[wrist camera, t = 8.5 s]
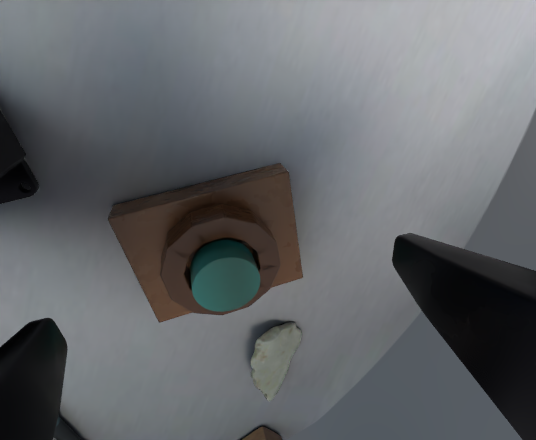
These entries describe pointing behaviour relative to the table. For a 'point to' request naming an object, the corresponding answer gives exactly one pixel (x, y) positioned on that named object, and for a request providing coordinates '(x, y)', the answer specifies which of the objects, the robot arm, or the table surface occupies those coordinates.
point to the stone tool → (274, 357)
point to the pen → (64, 431)
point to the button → (224, 276)
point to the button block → (209, 234)
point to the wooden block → (263, 435)
